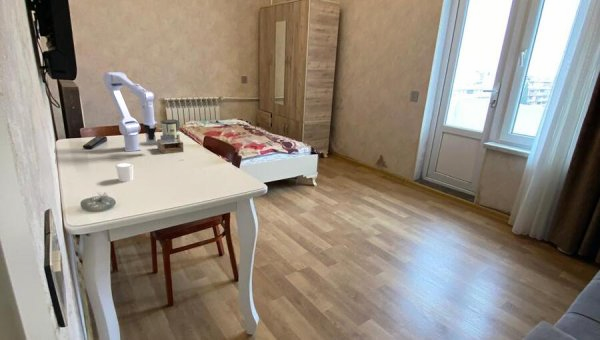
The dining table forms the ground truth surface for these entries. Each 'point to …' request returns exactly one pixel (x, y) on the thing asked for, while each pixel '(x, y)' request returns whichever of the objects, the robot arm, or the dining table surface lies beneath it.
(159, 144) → the frame
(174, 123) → the coffee can
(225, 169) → the dining table surface
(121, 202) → the dining table surface
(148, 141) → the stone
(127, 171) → the white cup
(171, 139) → the trapdoor
